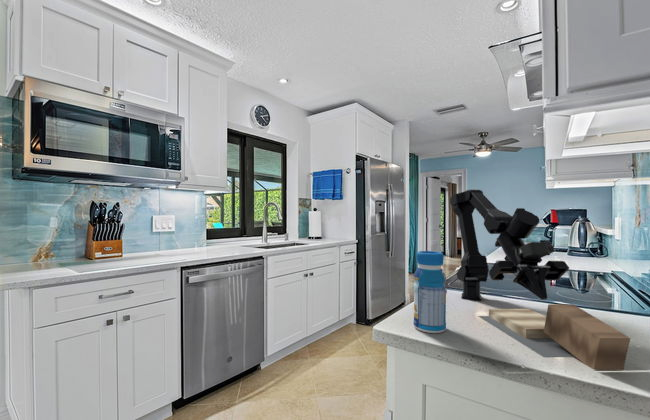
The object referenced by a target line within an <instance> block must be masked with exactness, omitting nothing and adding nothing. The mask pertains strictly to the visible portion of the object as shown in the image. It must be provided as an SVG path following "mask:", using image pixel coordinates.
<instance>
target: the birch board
mask: <svg viewBox="0 0 650 420" xmlns="http://www.w3.org/2000/svg"><path fill="white" fill-rule="evenodd" d="M488 316H489V317H490V318H492V319H494V320H496V321H497V322H499V323H501V324H502V325H504V326H506V327H507V328H509V329H511V330H513V331H514V332H516V333H518V334H519V335H521V336H523V337H525V338H551V337H550V336H548V335H547V334H546V333H545V332H544V327H545V321H546V315H543V314H541V313H539V312H537V311H534V310H532V309H530V308H489V309H488Z"/></svg>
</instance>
